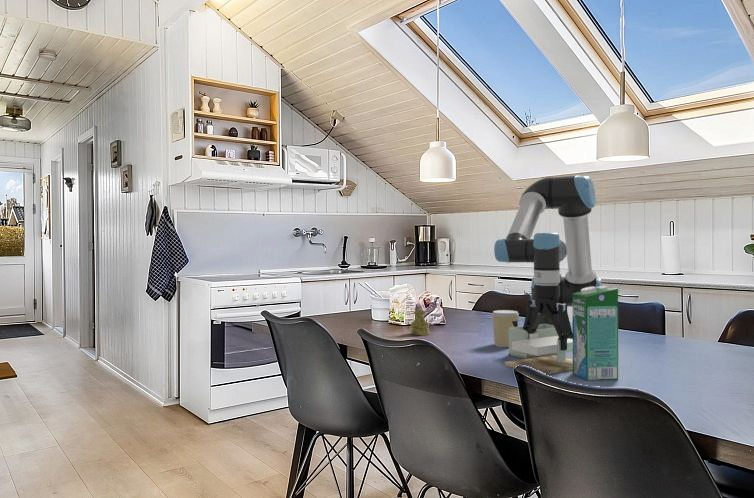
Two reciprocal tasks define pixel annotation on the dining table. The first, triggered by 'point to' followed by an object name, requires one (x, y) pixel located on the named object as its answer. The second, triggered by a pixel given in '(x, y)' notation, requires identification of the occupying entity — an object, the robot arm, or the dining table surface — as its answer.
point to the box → (521, 334)
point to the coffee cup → (503, 326)
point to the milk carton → (595, 332)
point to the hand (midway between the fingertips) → (547, 357)
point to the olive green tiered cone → (419, 324)
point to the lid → (540, 345)
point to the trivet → (544, 364)
